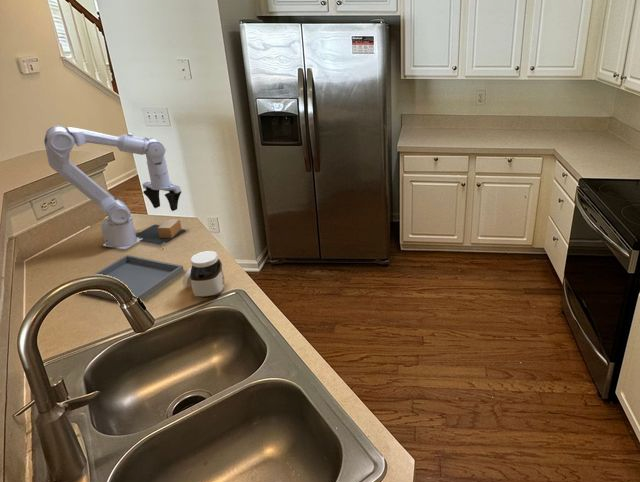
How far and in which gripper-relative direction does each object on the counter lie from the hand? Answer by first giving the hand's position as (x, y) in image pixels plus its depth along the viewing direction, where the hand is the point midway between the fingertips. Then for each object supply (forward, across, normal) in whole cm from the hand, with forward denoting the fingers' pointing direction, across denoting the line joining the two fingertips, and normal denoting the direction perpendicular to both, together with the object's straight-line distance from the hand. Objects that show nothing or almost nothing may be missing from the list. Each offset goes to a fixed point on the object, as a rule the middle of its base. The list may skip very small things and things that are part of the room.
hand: (165, 208), depth 156 cm
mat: (+9, +2, +4) cm, 10 cm away
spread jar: (+10, -37, +27) cm, 47 cm away
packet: (+9, -2, +2) cm, 9 cm away
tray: (+9, -14, +30) cm, 34 cm away
